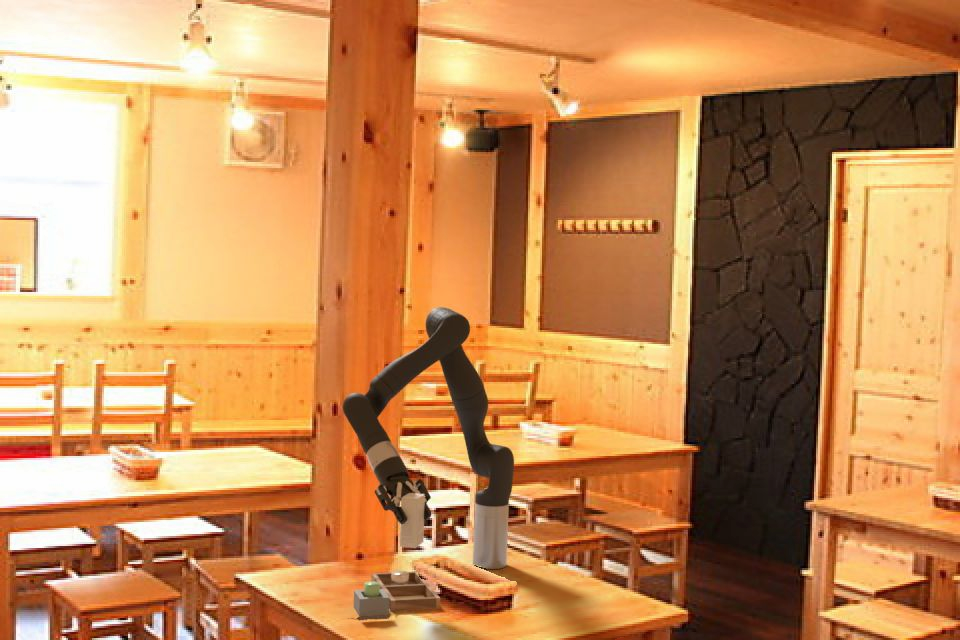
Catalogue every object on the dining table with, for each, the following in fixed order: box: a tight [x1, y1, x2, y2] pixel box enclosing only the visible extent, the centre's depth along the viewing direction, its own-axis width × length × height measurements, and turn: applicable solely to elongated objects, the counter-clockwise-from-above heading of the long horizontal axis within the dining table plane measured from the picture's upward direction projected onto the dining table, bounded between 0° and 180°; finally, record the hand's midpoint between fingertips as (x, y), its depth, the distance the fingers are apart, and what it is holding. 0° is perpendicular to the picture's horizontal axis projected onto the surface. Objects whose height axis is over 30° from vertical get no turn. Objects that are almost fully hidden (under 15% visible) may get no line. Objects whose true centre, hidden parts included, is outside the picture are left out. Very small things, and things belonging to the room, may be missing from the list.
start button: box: [363, 580, 380, 597], centre depth 283 cm, size 4×4×4 cm
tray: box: [371, 571, 441, 612], centre depth 297 cm, size 23×12×4 cm, turn 17°
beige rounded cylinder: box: [390, 570, 409, 585], centre depth 302 cm, size 4×4×4 cm
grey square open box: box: [353, 589, 390, 621], centre depth 284 cm, size 7×7×5 cm
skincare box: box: [399, 493, 425, 549], centre depth 290 cm, size 6×4×12 cm
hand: (416, 520), depth 289 cm, fingers closed on skincare box, 7 cm apart
